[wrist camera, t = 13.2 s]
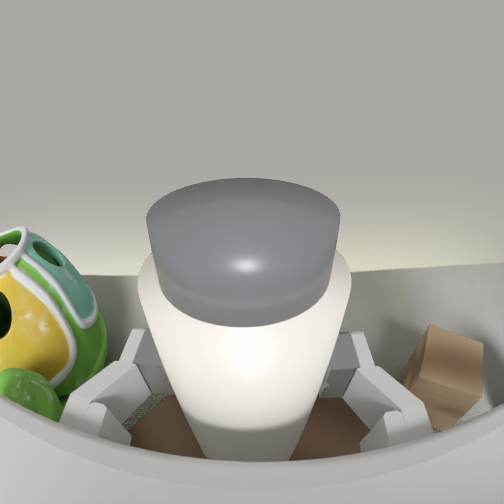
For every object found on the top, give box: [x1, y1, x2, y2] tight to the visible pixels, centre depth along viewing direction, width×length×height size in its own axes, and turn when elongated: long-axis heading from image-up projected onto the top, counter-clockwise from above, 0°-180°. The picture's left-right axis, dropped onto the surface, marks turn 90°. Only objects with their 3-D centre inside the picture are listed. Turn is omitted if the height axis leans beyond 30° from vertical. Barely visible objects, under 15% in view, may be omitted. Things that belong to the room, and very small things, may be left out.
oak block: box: [401, 324, 483, 431], centre depth 15 cm, size 5×5×5 cm
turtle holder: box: [0, 226, 114, 423], centre depth 14 cm, size 12×18×12 cm
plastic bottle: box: [137, 178, 351, 462], centre depth 9 cm, size 5×5×12 cm
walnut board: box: [128, 393, 371, 461], centre depth 14 cm, size 12×13×1 cm
